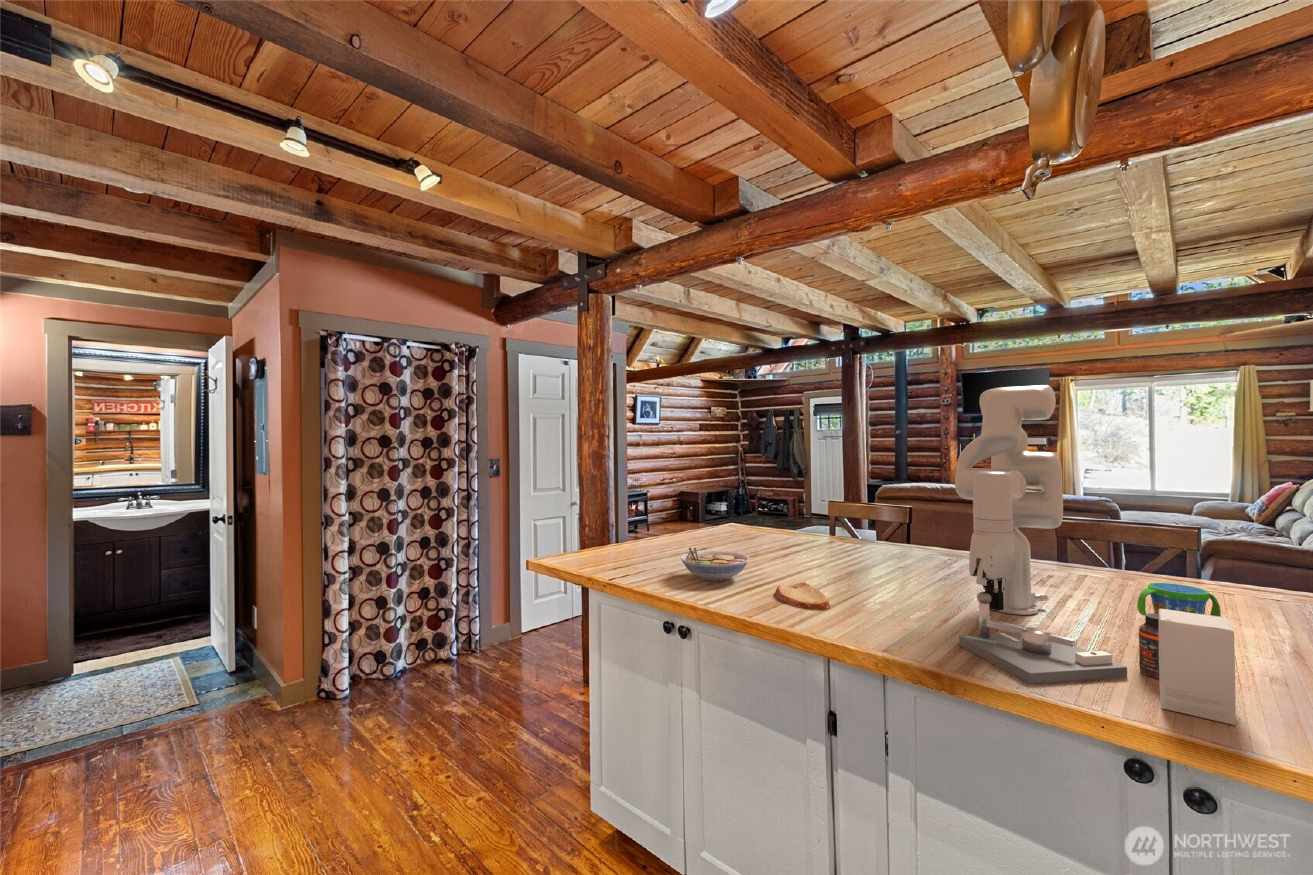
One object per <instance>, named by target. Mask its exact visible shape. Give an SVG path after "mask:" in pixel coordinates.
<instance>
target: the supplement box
mask: <svg viewBox="0 0 1313 875" xmlns="http://www.w3.org/2000/svg"><path fill="white" fill-rule="evenodd" d="M1235 650H1236V649H1235V630H1234V629H1233V627H1232V625H1231V623H1230V620H1229V619H1228V618H1227V617H1224V616H1223V617H1221V616H1220V617H1218V616H1211V615H1208V614H1204V615H1202V614H1195V613H1188V612H1182V611H1175V610H1168V609H1159V679H1158V681H1159V698H1160V708H1161V709H1163V710H1168V711H1173V712H1176V713H1181V714H1184V715H1190V716H1194V717H1198V718H1203V719H1206V720H1211V721H1216V722H1219V723H1224V724H1227V725H1232V726H1236V725H1237V722H1236V719H1237V718H1236V716H1237V715H1236V713H1237V711H1236V710H1237V709H1236V708H1237V707H1236V705H1237V704H1236V703H1237V702H1236V661H1235V659H1236V658H1235V657H1236V655H1235V654H1236V653H1235Z"/></svg>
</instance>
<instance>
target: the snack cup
mask: <svg viewBox="0 0 1313 875" xmlns="http://www.w3.org/2000/svg"><path fill="white" fill-rule="evenodd" d="M1149 595H1150V599H1151V604H1152V609H1153V614H1159V609H1168V610H1175V611H1182V612H1188V613H1195V614H1202V615H1206V614H1205V613H1206V605H1207V602H1208V601H1209V599H1210V600H1211V604H1212V605H1211V609H1210V613H1209V614H1210V616H1218V617H1221V615H1222V613H1221V612H1222V611H1221V606H1220V603H1219V601H1218V598H1216V596H1215V595H1214V594H1212V593H1210V592H1209V591H1208V590H1207V589H1203V588H1199V587H1196V586H1191V585H1187V584H1186V585H1185V584H1180V583H1171V582H1170V583H1169V582H1151V583H1150V582H1149V583H1148V584H1147V588H1144V589H1143V590H1142V591H1141V592H1140V594H1139V596H1138V598H1137V603H1136V604H1137V605H1136V606H1137V611H1138V612H1139V614H1140V615H1142V616H1145V615H1146V614H1147V611H1146V604H1147V603H1146V598H1147V596H1149Z"/></svg>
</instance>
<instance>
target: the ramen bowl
mask: <svg viewBox="0 0 1313 875" xmlns="http://www.w3.org/2000/svg"><path fill="white" fill-rule="evenodd" d="M688 550H689V552H687V553H684V554H682V555H681V556H680V559H681V562H682V564H683V565H684V566H685V568H686V569H687V570H688V572H689V573H691V574H692V575H693V576H696V577H698V578H701V579H703V580H704V581H706V582H711V583H712V582H713V583H714V582H715V583H717V582H725V581H727V580H728V579H731V578H733V577H735V576H737V575H739V574H740V573H742V571H743V570H744V568H746V566H747V563H748V562H749V559H750V556H748V555H746V554H745V553H740V552H737V551H727V550H701V551H700V550H699V551H697V548H696V547H693V550H694V551H693V550H692V548H691V547H689V548H688Z"/></svg>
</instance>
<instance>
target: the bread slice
mask: <svg viewBox="0 0 1313 875" xmlns="http://www.w3.org/2000/svg"><path fill="white" fill-rule="evenodd" d="M774 594H775V596H776V598H778V600H780V601H781V602H784V603H786V602H787V603H786V604H788V605H790V606H795V607H796V608H800V607H801V608H802V609H805V610H812V609H818V610H817V611H828V610H831V609H832V607H831V604H830V601H829V599H828V597H827V596H826V595H825V594H824V593H823V592H821V591H820V590H818V589H817V588H815V587H814V586H812V585H810V584H809V583H806V581H804V582H800V583H799V582H798V583H796V584H792V585H788V586H786V587H785V586H782V585H778V586H777V587H776V590H775V592H774Z"/></svg>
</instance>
